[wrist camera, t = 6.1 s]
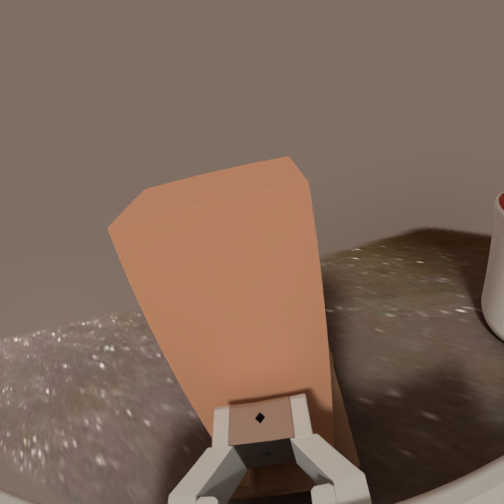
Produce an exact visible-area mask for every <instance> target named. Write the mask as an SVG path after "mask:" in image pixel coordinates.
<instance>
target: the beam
mask: <svg viewBox="0 0 504 504" xmlns="http://www.w3.org/2000/svg"><path fill="white" fill-rule="evenodd" d="M328 347H329V360H330V374H331V390H332V408H333V430H334V447H333V448H334V449H336V450H337V451H338V452H339V453H340V454H341V455H343V456H344V457H345V458H346V459H347V460H348V461H350V462H351V463H352V464H353V465H354V466H356V467H357V468H358V469H359V470H360V464H359V460H358V456H357V452H356V448H355V444H354V440H353V436H352V432H351V429H350V425H349V421H348V417H347V414H346V410H345V406H344V403H343V399H342V396H341V392H340V388H339V385H338V381H337V378H336V374H335V371H334V360H333V356H332V353H331V350H330V346H329V343H328ZM211 447H212V437H211ZM314 486H318V485H317V484H316V483H315V482H314V481H313V480H312V479H311V478H310V477H309V476H308V475H307V474H306V473H305V471H304V470H303V469H302V468H301V467H300V466H299V465H298V464H297V462H294V463H286V464H278V465H270V466H263V467H256V468H248V469H247V471H246V473H245V475H244V476H243V478H242V480H241V481H240V483H239V485H238V486H237V488H236V490H235V491H234V493H233V495H232V496H231V498H230V499H245V498H258V497H268V496H277V495H285V494H292V493H299V492H305V491H311V490H312V488H313V487H314Z"/></svg>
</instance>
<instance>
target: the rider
mask: <svg viewBox="0 0 504 504" xmlns="http://www.w3.org/2000/svg"><path fill="white" fill-rule="evenodd" d="M108 231H109V233H110V236H111V239H112V241H113V244H114V246H115V249H116V251H117V253H118V256H119V259H120V261H121V263H122V266H123V268H124V271H125V273H126V275H127V278H128V280H129V282H130V285H131V287H132V289H133V291H134V294H135V296H136V298H137V300H138V302H139V305H140V307H141V309H142V311H143V313H144V315H145V317H146V320H147V322H148V324H149V326H150V328H151V330H152V332H153V334H154V336H155V338H156V340H157V342H158V344H159V346H160V348H161V350H162V352H163V354H164V356H165V358H166V359H167V361H168V363H169V365H170V367H171V369H172V371H173V373H174V374H175V376H176V378H177V380H178V382H179V384H180V385H181V387H182V389H183V391H184V392H185V394H186V396H187V398H188V399H189V401H190V403H191V405H192V406H193V408H194V410H195V411H196V413H197V415H198V416H199V418H200V420H201V421H202V423H203V425H204V426H205V428H206V429H207V431H208V433H209V434H210V436H211V437H213V421H214V410H215V408H216V407H217V406H226V405H237V404H245V403H254V402H260V401H264V400H270V399H276V398H281V397H286V396H294V395H299V394H303V393H305V395H306V399H307V405H308V410H309V416H310V421H311V427H312V432H313V434H319V435H320V436H321V437H322V438H323V439H324V440H325V441H326V442H328V443H329V444H330V445H331V446H332V447H334V430H333V408H332V390H331V374H330V360H329V347H328V335H327V324H326V314H325V304H324V294H323V285H322V276H321V268H320V260H319V253H318V244H317V236H316V229H315V222H314V215H313V208H312V201H311V195H310V188H309V183H308V181H307V180H306V179H305V177H304V176H303V174H302V173H301V172H300V171H299V169H298V168H297V167H296V165H295V164H294V163H293V162H292V160H291V159H290V158H289V156H287V157H282V158H276V159H271V160H266V161H261V162H256V163H252V164H247V165H242V166H238V167H233V168H228V169H224V170H220V171H215V172H211V173H207V174H202V175H198V176H194V177H190V178H186V179H182V180H178V181H174V182H170V183H167V184H163V185H159V186H155V187H151V188H148V189H145V190H144V191H143V192H142V193H141V194H140V195H139V196H138V197H137V198H136V199H135V200H134V201H133V202H132V203H131V204H130V205H129V206H128V207H127V208H126V209H125V210H124V211H123V212H122V213H121V214H120V215H119V216H118V217H117V218H116V219H115V221H114V222H113V223H112V224H111V225H110V226H109V227H108Z"/></svg>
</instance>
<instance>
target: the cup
mask: <svg viewBox="0 0 504 504" xmlns="http://www.w3.org/2000/svg"><path fill="white" fill-rule="evenodd" d="M494 209H495V210H494V220H493V229H492V238H491V245H490V253H489V259H488V265H487V271H486V277H485V282H484V287H483V292H482V298H481V306H482V312H483V315H484V318H485V320H486V322H487V324H488V325H489V327H490V328H491V330H492V331H493V332H494V333H495V334H496V335H497V336H498V337H499V338H500V339H501V340H503V341H504V192H502V193H500V194H499V195H498V196H497V197H496V200H495V208H494Z"/></svg>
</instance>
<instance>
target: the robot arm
mask: <svg viewBox="0 0 504 504" xmlns="http://www.w3.org/2000/svg"><path fill="white" fill-rule="evenodd" d="M294 462H297V464H298V465H299V466H300V467H301V468H302V469H303V470H304V471H305V473H306V474H307V475H308V476H309V477H310V478H311V479H312V480H313V481H314V482H315V483H316V484H317V485H318V486H314V487H313V488H312V490H311V496H312V504H372V502H371V498H370V494H369V489H368V485H367V481H366V477H365V474H364V473H363V472H362V471H360V470H359V469H358V468H357V467H356V466H354V465H353V464H352V463H351V462H350V461H348V460H347V459H346V458H345V457H344V456H343V455H341V454H340V453H339V452H338V451H337V450H336V449H334V448H333V447H332V446H331V445H330V444H329V443H328V442H326V441H325V440H324V439H323V438H322V437H321V436H320V435H319V434H313V432H312V427H311V421H310V416H309V410H308V405H307V399H306V395H305V393H303V394H299V395H294V396H286V397H281V398H276V399H270V400H264V401H260V402H254V403H245V404H237V405H226V406H217V407H216V408H215V410H214V421H213V437H212V447H211V448H207V449H206V451H205V452H204V453H203V454H202V456H201V457H200V458H199V459H198V461H197V462H196V463H195V464H194V466H193V467H192V468H191V469H190V470H189V472H188V473H187V474H186V475H185V477H184V478H183V479H182V480H181V481H180V483H179V484H178V485H177V486H176V487H175V488H174V490H173V491H172V492H171V493H170V494H169V498H168V504H227V503H228V501H229V499H230V498H231V496H232V495H233V493H234V491H235V490H236V488H237V486H238V485H239V483H240V481H241V480H242V478H243V476H244V475H245V473H246V471H247V469H248V468H256V467H263V466H270V465H278V464H286V463H294ZM0 504H41V503H38V502H35V501H32V500H29V499H27V498H24V497H21V496H19V495H16V494H14V493H11V492H9V491H6V490H4V489H2V488H0ZM395 504H504V455H503V456H501V457H499V458H497V459H496V460H494V461H492V462H490V463H488V464H487V465H485V466H483V467H481V468H479V469H477V470H475V471H473V472H471V473H469V474H467V475H465V476H463V477H461V478H459V479H456V480H454V481H452V482H450V483H447V484H445V485H443V486H440V487H438V488H436V489H433V490H431V491H428V492H426V493H423V494H420V495H418V496H415V497H412V498H409V499H407V500H404V501H401V502H398V503H395Z"/></svg>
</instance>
